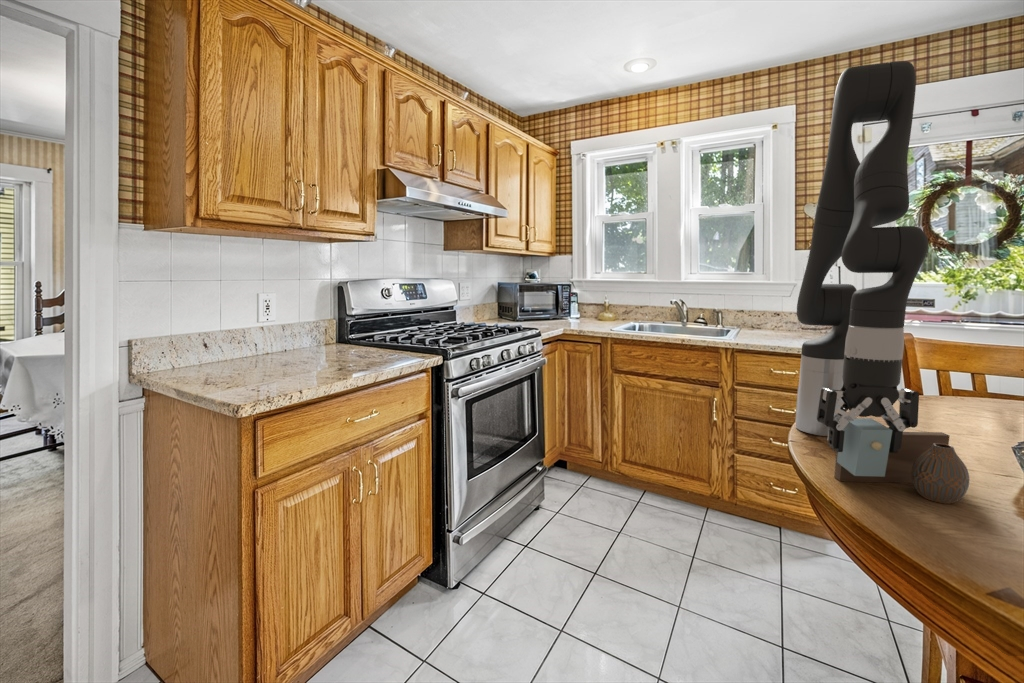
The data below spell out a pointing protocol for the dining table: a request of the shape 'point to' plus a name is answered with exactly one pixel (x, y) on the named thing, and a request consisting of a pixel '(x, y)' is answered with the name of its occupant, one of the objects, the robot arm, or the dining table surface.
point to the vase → (940, 474)
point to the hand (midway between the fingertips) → (863, 450)
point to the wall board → (898, 458)
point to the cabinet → (865, 447)
